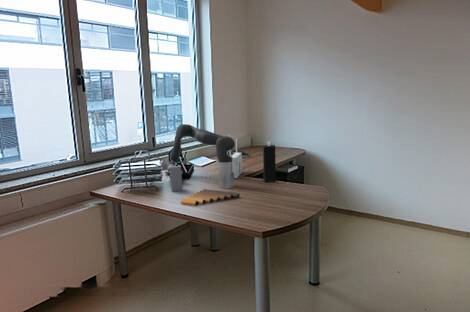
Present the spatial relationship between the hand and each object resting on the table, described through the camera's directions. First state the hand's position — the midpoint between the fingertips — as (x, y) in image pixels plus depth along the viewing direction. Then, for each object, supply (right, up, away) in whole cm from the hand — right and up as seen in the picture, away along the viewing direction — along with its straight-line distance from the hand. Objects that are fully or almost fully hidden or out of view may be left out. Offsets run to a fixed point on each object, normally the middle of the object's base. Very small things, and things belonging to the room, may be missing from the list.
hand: (175, 175), depth 242 cm
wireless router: (+41, +13, +104) cm, 113 cm away
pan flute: (+26, -14, -31) cm, 43 cm away
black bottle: (+65, -4, +8) cm, 65 cm away
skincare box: (+42, -2, +28) cm, 50 cm away
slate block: (+2, -9, -6) cm, 12 cm away
